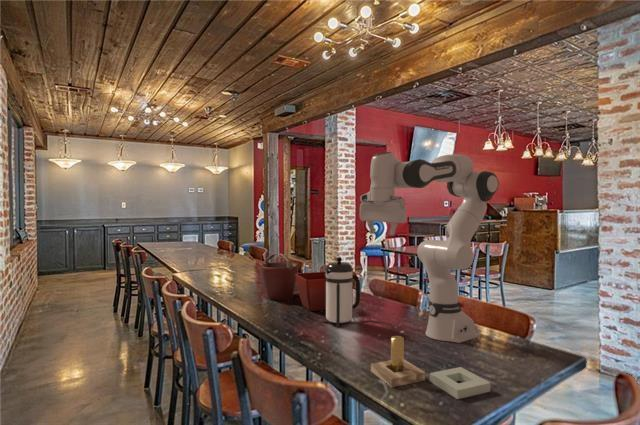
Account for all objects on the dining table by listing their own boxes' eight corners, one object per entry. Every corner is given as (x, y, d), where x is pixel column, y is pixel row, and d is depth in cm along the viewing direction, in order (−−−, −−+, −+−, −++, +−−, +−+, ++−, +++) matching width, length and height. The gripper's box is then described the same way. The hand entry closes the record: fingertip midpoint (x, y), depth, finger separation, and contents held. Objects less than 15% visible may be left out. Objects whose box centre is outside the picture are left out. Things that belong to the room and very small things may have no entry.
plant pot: (341, 310, 201) (342, 277, 200) (306, 313, 194) (306, 279, 193) (327, 301, 218) (327, 271, 218) (294, 304, 211) (294, 273, 211)
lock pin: (399, 372, 126) (399, 335, 126) (406, 377, 122) (406, 339, 122) (388, 374, 125) (388, 336, 124) (395, 379, 121) (395, 340, 121)
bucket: (256, 293, 237) (256, 252, 236) (290, 290, 246) (290, 250, 246) (268, 303, 215) (268, 257, 214) (305, 299, 224) (305, 255, 223)
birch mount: (402, 365, 131) (402, 358, 131) (424, 380, 120) (424, 372, 120) (370, 371, 127) (370, 363, 127) (391, 387, 116) (391, 379, 116)
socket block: (460, 374, 124) (460, 366, 124) (490, 391, 113) (490, 382, 113) (429, 381, 120) (429, 373, 120) (457, 399, 109) (457, 390, 108)
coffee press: (356, 329, 170) (356, 259, 169) (319, 326, 173) (319, 258, 173) (360, 317, 187) (360, 254, 186) (327, 315, 190) (327, 254, 190)
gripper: (410, 196, 137) (409, 235, 137) (368, 197, 153) (368, 232, 154) (398, 195, 133) (397, 236, 133) (357, 196, 149) (356, 233, 150)
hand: (381, 234), depth 144 cm, fingers open, 8 cm apart
